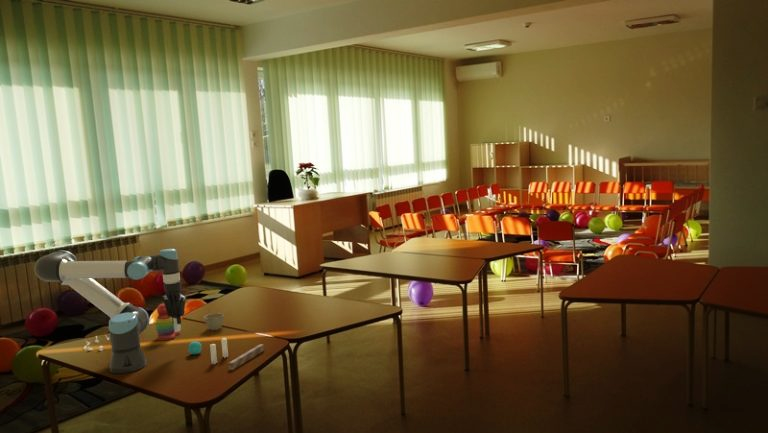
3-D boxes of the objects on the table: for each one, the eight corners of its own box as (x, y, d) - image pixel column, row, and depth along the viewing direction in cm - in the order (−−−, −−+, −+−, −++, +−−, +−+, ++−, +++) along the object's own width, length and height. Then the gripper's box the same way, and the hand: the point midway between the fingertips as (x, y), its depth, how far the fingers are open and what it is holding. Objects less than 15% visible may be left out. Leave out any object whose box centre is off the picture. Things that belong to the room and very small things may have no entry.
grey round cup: (204, 328, 313) (202, 315, 312) (223, 324, 317) (221, 312, 316) (206, 333, 304) (205, 319, 303) (226, 329, 308) (225, 316, 307)
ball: (196, 356, 268) (195, 344, 268) (186, 355, 271) (184, 343, 270) (205, 352, 274) (203, 339, 273) (194, 351, 276) (193, 339, 276)
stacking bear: (173, 340, 296) (169, 306, 294) (153, 341, 296) (149, 307, 294) (181, 333, 306) (177, 300, 304) (162, 334, 307) (158, 301, 305)
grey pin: (215, 364, 257) (213, 345, 256) (210, 364, 258) (208, 345, 257) (218, 362, 259) (216, 344, 258) (214, 362, 260) (212, 343, 259)
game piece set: (114, 336, 309) (113, 329, 308) (133, 343, 296) (132, 335, 296) (76, 348, 294) (75, 340, 293) (94, 355, 281) (93, 347, 281)
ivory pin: (226, 357, 264) (224, 339, 263) (221, 357, 265) (220, 339, 264) (229, 356, 267) (227, 338, 266) (225, 355, 268) (223, 337, 267)
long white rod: (232, 370, 249) (232, 363, 249) (229, 369, 250) (228, 362, 249) (264, 350, 271) (263, 344, 271) (260, 350, 272) (259, 344, 271)
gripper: (188, 280, 273) (194, 328, 276) (166, 279, 278) (172, 327, 281) (177, 284, 266) (183, 334, 269) (155, 283, 271) (161, 332, 274)
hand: (177, 330), depth 275 cm, fingers closed
